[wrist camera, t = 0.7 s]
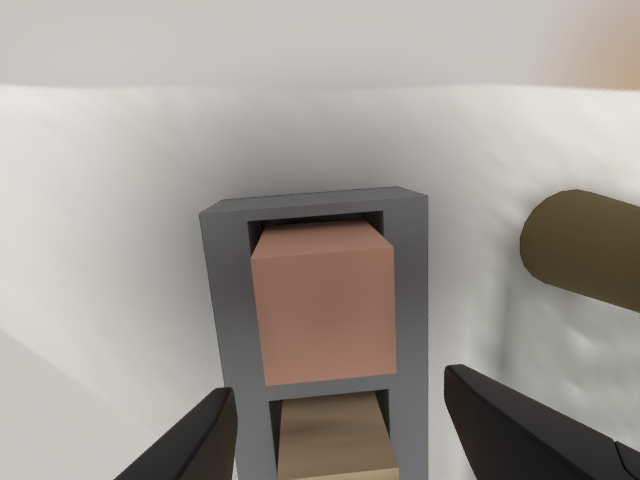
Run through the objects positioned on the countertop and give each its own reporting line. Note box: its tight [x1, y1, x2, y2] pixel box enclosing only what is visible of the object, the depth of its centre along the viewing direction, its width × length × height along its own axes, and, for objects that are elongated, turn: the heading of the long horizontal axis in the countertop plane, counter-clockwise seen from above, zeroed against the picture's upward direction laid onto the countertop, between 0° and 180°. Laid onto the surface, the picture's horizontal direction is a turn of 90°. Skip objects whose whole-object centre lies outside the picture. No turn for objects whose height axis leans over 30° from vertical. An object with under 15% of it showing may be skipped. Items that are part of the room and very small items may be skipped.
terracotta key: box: [250, 218, 397, 386], centre depth 15 cm, size 5×5×6 cm
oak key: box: [277, 390, 399, 480], centre depth 17 cm, size 5×5×6 cm
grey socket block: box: [199, 186, 428, 480], centre depth 20 cm, size 16×10×5 cm, turn 4°
